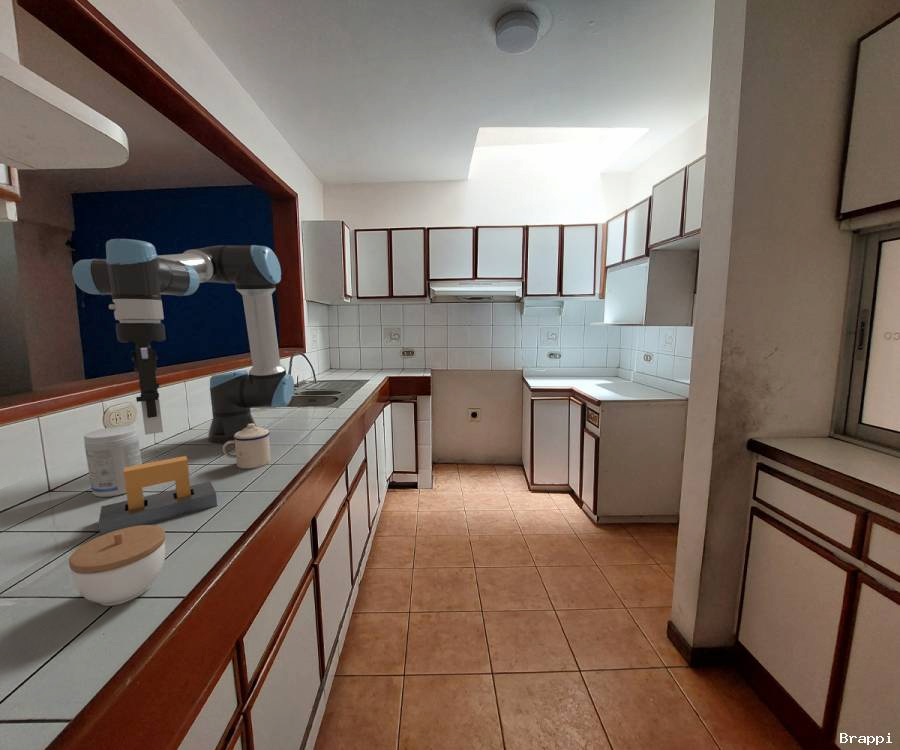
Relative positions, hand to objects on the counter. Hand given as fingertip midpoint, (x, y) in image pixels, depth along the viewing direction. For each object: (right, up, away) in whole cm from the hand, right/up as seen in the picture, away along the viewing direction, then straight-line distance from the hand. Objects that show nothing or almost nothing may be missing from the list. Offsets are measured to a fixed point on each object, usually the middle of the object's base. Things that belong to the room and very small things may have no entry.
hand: (152, 425), depth 77 cm
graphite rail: (0, -19, +3) cm, 19 cm away
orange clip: (0, -19, +3) cm, 19 cm away
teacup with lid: (+4, -15, +30) cm, 34 cm away
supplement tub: (-19, -18, +14) cm, 29 cm away
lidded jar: (+12, -23, -21) cm, 33 cm away
